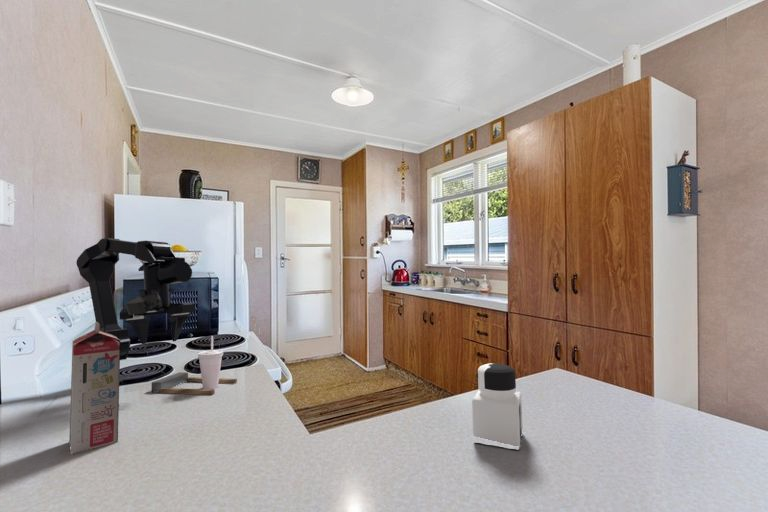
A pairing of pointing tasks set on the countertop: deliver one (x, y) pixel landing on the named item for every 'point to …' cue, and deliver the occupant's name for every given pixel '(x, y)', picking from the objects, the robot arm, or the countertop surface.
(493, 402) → the container
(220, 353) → the smoothie
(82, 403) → the juice carton
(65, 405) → the countertop surface
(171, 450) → the countertop surface
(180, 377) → the guide track
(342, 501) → the countertop surface
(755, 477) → the countertop surface
